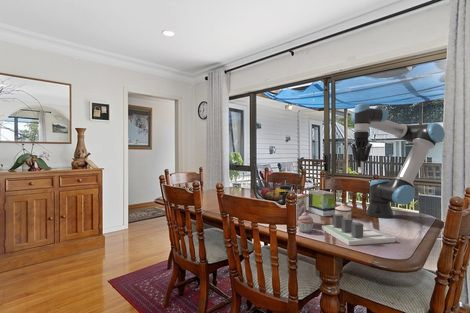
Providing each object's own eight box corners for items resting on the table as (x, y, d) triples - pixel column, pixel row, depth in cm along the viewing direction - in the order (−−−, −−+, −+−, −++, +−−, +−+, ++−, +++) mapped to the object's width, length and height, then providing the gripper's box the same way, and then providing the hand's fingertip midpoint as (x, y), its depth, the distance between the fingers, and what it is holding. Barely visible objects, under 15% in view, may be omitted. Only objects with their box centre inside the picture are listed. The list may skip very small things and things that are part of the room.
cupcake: (309, 235, 135) (309, 215, 134) (292, 231, 141) (292, 212, 141) (317, 230, 142) (317, 212, 141) (301, 227, 148) (301, 209, 148)
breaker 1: (339, 225, 143) (340, 214, 143) (343, 226, 140) (343, 215, 140) (332, 225, 143) (333, 214, 142) (336, 227, 140) (336, 215, 139)
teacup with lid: (349, 227, 148) (350, 206, 148) (332, 224, 153) (333, 204, 153) (354, 222, 158) (354, 202, 157) (338, 219, 163) (338, 200, 163)
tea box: (335, 215, 174) (335, 192, 173) (322, 217, 170) (323, 193, 169) (319, 210, 188) (319, 189, 187) (307, 211, 184) (308, 190, 183)
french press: (279, 207, 196) (280, 176, 195) (292, 208, 193) (293, 176, 192) (276, 211, 185) (276, 177, 184) (290, 212, 182) (290, 178, 181)
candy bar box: (296, 226, 150) (296, 197, 149) (288, 224, 153) (288, 195, 153) (306, 222, 158) (307, 194, 157) (299, 220, 161) (299, 193, 161)
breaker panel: (361, 226, 149) (361, 223, 149) (395, 242, 125) (395, 237, 125) (321, 229, 144) (321, 225, 144) (348, 245, 121) (348, 240, 121)
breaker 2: (358, 234, 128) (359, 222, 127) (363, 236, 125) (363, 224, 125) (351, 235, 127) (351, 222, 127) (355, 237, 124) (355, 224, 124)
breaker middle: (348, 229, 136) (348, 217, 135) (352, 231, 133) (352, 219, 132) (341, 230, 135) (341, 218, 135) (345, 232, 132) (345, 219, 132)
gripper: (367, 132, 158) (366, 172, 159) (347, 131, 156) (346, 172, 157) (376, 131, 151) (375, 173, 152) (355, 131, 148) (354, 173, 149)
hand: (360, 172), depth 154 cm, fingers closed
